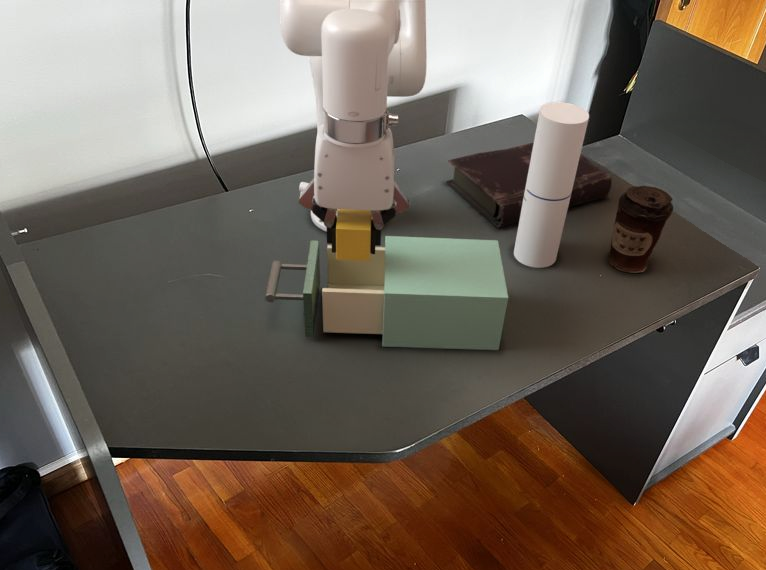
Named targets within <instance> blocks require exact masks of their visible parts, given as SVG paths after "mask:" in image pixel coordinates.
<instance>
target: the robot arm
mask: <svg viewBox="0 0 766 570" xmlns="http://www.w3.org/2000/svg"><path fill="white" fill-rule="evenodd" d="M426 3H427V2H426V0H278V13H279V14H278V17H279V29H280V35H281V39H282V41H283V43H284V45H285V46H286V48H287V49H288V50H289V51H290V52H291V53H294V54H295V55H299V56H303V57H308V60H309V69H310V73H311V79H312V84H313V90H314V97H315V110H316V111H315V112H316V128H317V129H316V130H317V134H316V140H315V147H314V163H313V164H314V165H313V167H314V169H313V178H312V179H311V181H310V182H305V181H301V182H300V183H299V187H298V192H299V197H298V204H299V205H301V206H302V207H304V208H306V209H307V210H309V211H310V218H311V221H312V223H313V224H314V225H315V226H316V227H317V228H318V229H320V230H322V231H324V232H326V244H327V245H332V253H336V224H337V214H338V209H352V210H370V211H371V215H372V216H371V243H370V253H372V254H375V247H382V246H381V245H382V229H384V226H385V225H387V224H388V223H389V222H390V221H391V220H393V219H394V218H395V217H396V215H399V214H401V213H403V212H404V211H407V210H408V209H409V208H410V199H409V198H408V197H407V195H406V194H405V193H404V191H403V190H402V189H401V187H400V185H398V183H397V182H396V181H395V146H394V138H393V137H394V136H393V132H392V130H391V128H392V127H398V126H399V114H393V113H391V112H390V110H387V106H388V103H387V102H388V97H394V98H396V97H398V98H404V97H405V98H406V97H413V96H416V95H418V94H419V93H421V91H422V90H423V89H424V86H425V83H426V77H427V66H428V63H427V61H428V60H427V58H428V56H427V53H428V52H427V10H426V9H427V6H426V5H427V4H426Z"/></svg>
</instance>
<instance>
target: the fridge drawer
mask: <svg viewBox="0 0 766 570" xmlns="http://www.w3.org/2000/svg"><path fill="white" fill-rule="evenodd" d="M326 249H327V250H326V251H327V287H322V289H321V295H322V298H321V299H322V327H323V328H322V331H323V333H333V334H334V333H337V334H367V335H382V334H383V314H384V284H385V246H375V254H372V253H370V261H356V260H337V259H336V253H332V244H327V248H326ZM320 260H321V259H320V241H319V240H310V242H309V249H308V257H307V262H306V264H298V263H296V264H295V263H282V262H281V261H280V260H274V261H272V263H271V267H270V271H269V276H268V280H267V281H268V282H267V286H266V290H265V296H264V299H265V301H266V302H267V303H273V302H275V301H276V300H279V301H280V300H282V301H302V303H303V304H302V305H303V321H304V336H305V337H307V338H308V337H309V338H313V337H315V330H316V321H317V314H318V305H319V299H320V297H319V296H320V288H321V265H320V262H321V261H320ZM282 270H290V271H291V270H292V271H293V270H294V271H305V276H304V283H303V290H302V294H301V293H300V294H299V293H297V294H296V293H278V287H279V282H280V278H281V277H280V276H281V271H282Z"/></svg>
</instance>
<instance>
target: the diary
mask: <svg viewBox="0 0 766 570" xmlns="http://www.w3.org/2000/svg"><path fill="white" fill-rule="evenodd" d="M533 144H534V141H533V142H529V143H526V144H521V145H517V146H512V147H508V148H504V149H496V150H490V151H483V152H476V153H474V154H473V153H472V154H469V155H464V156H460V157H456V158H452V159H448V160H447V162H448V163H449V164H450V165H452V166H453V167H454V171H453V179H449V180H446V181H445V183H446V184H447V185H448V186H449V187H451V189H453V190H454V191H455V192H456V193H458V194H459V196H461V197H462V198H463V199H464V200H465V201H467V202H468V203H469V204H470V205H471V206H472V207H474V208H475V210H477V211H478V212H479V213H480V214H481V215H482V216H483V217H485V218H486V219H487V220H488V221H489V222H491V223H492V224H493V225H494V226H495V227H496V228H498V229H499V228H502V227H506V226H509V225H512V224H515V223H519V220H520V215H521V209H522V204H523V198H524V193H525V187H526V182H527V176H528V171H529V166H530V160H531V155H532V150H533ZM612 182H613V176H612V175H611V174H609V173H607V172H606V171H604V170H603V169H601V168H600V167H599V166H598V165H596V164H595V163H594V162H592V161H591V160H590V159H588V158H587V157H586V156H585V155H584V154H582V153H581V154H580V158H579V162H578V167H577V171H576V175H575V180H574V184H573V188H572V192H571V197H570V201H569V206H568V208H571V207H574V206H577V205H579V204H583V203H588V202H592V201H596V200H600V199H601V200H602V199H604V198H607V197H608V196H609V193H610V191H611V188H612Z"/></svg>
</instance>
